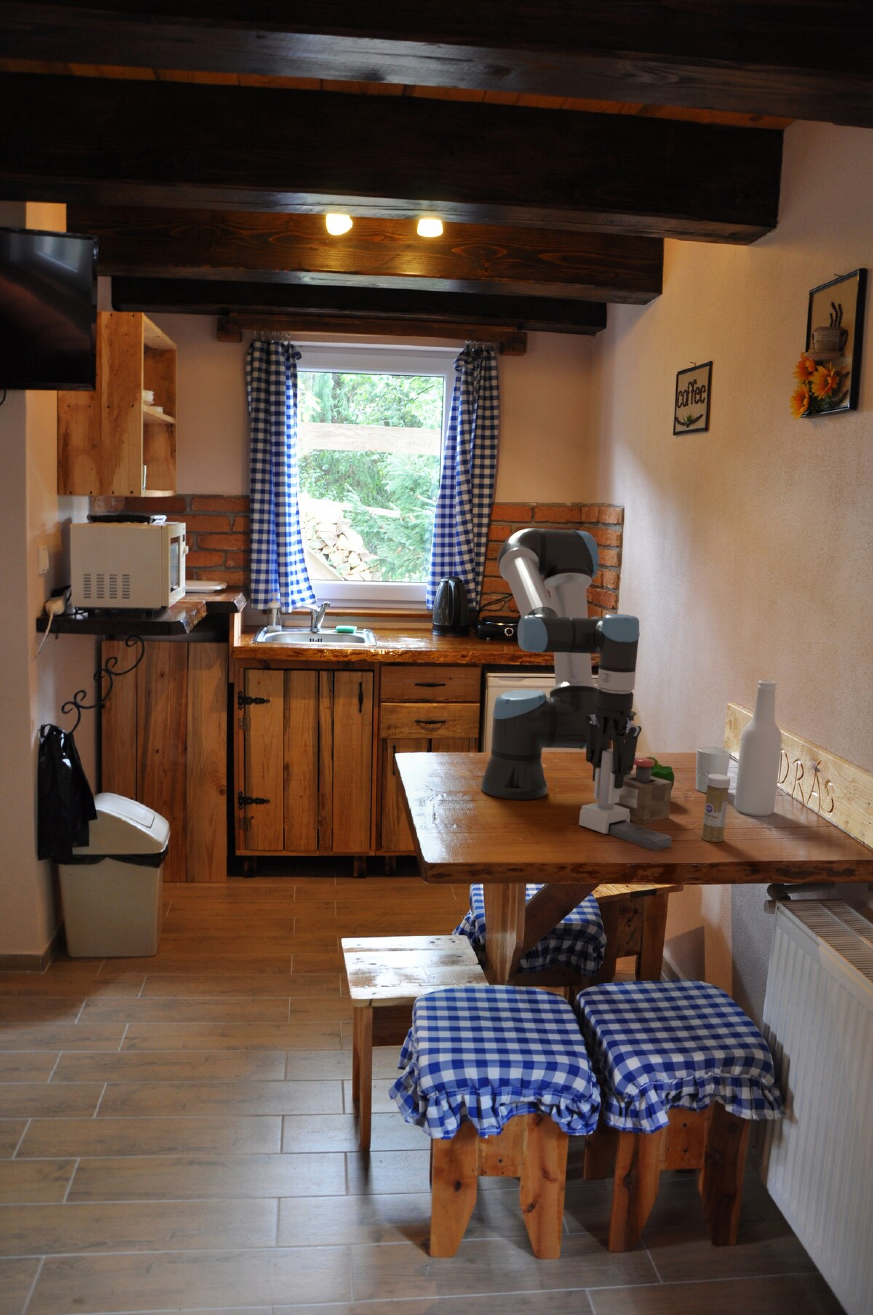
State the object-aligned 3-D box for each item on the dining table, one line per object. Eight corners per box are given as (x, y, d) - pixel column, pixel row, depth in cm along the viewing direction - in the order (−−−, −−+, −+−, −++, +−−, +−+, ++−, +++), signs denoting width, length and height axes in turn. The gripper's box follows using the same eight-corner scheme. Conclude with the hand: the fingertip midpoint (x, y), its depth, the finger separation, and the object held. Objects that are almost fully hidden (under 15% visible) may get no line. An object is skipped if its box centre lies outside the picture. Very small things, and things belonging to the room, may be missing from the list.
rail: (578, 823, 227) (579, 814, 227) (594, 820, 230) (595, 811, 230) (655, 850, 212) (656, 841, 212) (670, 846, 215) (671, 836, 215)
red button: (626, 794, 235) (629, 759, 234) (639, 792, 238) (642, 756, 237) (642, 799, 232) (646, 763, 230) (655, 796, 235) (658, 761, 233)
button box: (609, 813, 236) (612, 777, 234) (636, 806, 242) (639, 772, 240) (642, 824, 229) (645, 787, 228) (668, 817, 235) (671, 782, 234)
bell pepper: (679, 801, 249) (683, 759, 247) (660, 807, 243) (664, 764, 241) (648, 792, 254) (651, 751, 253) (629, 798, 248) (632, 756, 247)
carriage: (579, 824, 225) (584, 750, 222) (603, 818, 230) (609, 746, 228) (604, 833, 220) (611, 757, 217) (629, 827, 225) (635, 753, 222)
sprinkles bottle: (697, 839, 221) (703, 775, 219) (707, 834, 225) (713, 772, 222) (718, 844, 218) (724, 780, 216) (727, 839, 222) (734, 776, 220)
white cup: (723, 787, 263) (727, 747, 261) (729, 796, 255) (733, 755, 254) (691, 784, 264) (694, 745, 262) (695, 793, 256) (699, 752, 254)
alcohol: (730, 804, 248) (743, 676, 243) (768, 806, 248) (782, 679, 243) (738, 815, 239) (751, 683, 235) (778, 818, 239) (792, 686, 234)
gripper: (573, 684, 224) (564, 793, 228) (635, 698, 212) (625, 813, 216) (596, 681, 229) (588, 788, 233) (658, 695, 217) (648, 807, 221)
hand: (606, 800), depth 224 cm, fingers closed on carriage, 3 cm apart
